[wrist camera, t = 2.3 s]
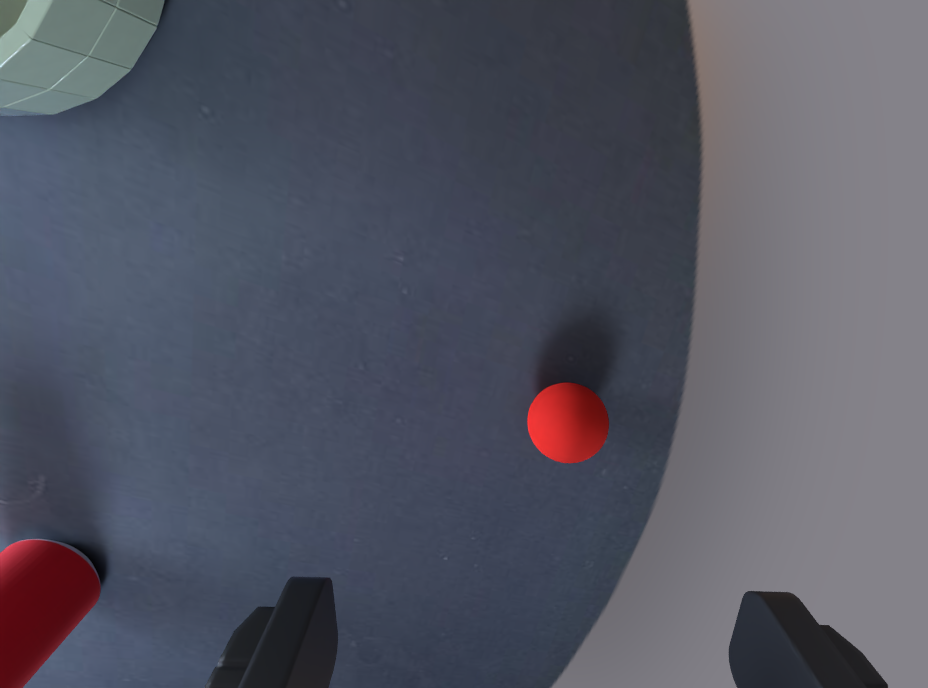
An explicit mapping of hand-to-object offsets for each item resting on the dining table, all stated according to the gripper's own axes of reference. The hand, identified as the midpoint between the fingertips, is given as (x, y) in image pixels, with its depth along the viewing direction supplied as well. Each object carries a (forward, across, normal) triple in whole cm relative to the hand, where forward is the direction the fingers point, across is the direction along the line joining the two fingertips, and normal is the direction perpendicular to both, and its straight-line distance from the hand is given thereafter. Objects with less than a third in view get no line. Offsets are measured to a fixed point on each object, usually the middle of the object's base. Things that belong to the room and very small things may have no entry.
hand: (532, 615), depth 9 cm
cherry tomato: (+14, -4, +4) cm, 15 cm away
